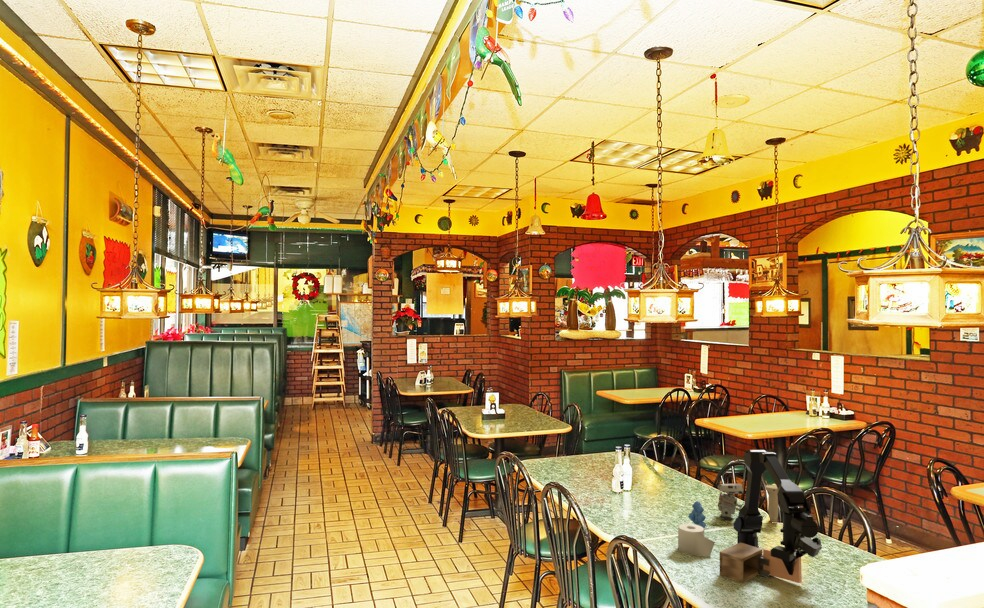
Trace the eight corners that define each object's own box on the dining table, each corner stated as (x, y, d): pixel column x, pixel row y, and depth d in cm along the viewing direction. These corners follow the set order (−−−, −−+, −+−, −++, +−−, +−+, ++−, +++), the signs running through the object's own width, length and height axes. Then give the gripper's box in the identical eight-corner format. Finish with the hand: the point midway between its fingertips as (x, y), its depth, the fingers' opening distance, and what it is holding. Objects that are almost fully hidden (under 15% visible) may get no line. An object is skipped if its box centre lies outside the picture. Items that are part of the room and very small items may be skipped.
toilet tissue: (714, 558, 221) (714, 534, 221) (677, 552, 226) (677, 529, 226) (715, 549, 229) (715, 526, 229) (679, 544, 234) (679, 522, 234)
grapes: (684, 526, 255) (684, 497, 255) (700, 526, 254) (700, 498, 255) (692, 536, 243) (692, 506, 243) (708, 536, 243) (709, 506, 243)
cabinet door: (762, 573, 206) (762, 549, 207) (766, 572, 208) (765, 548, 209) (798, 583, 197) (797, 558, 198) (801, 582, 199) (801, 557, 200)
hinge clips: (758, 574, 207) (758, 556, 207) (765, 570, 210) (764, 553, 210) (768, 577, 204) (768, 560, 204) (774, 574, 207) (774, 556, 207)
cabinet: (719, 575, 206) (719, 551, 206) (740, 564, 215) (740, 542, 215) (741, 583, 200) (741, 559, 200) (762, 572, 209) (762, 549, 209)
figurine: (745, 522, 260) (745, 487, 260) (717, 519, 264) (717, 484, 265) (745, 516, 268) (745, 482, 269) (717, 512, 273) (717, 479, 273)
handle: (782, 524, 258) (782, 489, 259) (765, 522, 261) (765, 487, 261) (780, 520, 263) (780, 486, 263) (764, 518, 265) (764, 484, 266)
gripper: (804, 540, 189) (804, 590, 188) (829, 527, 200) (829, 574, 200) (769, 530, 197) (769, 578, 197) (795, 518, 209) (795, 563, 209)
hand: (792, 573), depth 200 cm, fingers closed on cabinet door, 2 cm apart
